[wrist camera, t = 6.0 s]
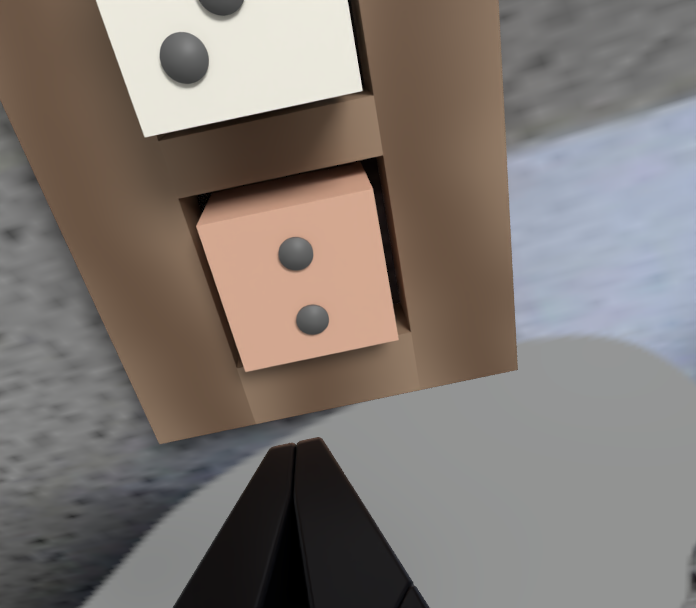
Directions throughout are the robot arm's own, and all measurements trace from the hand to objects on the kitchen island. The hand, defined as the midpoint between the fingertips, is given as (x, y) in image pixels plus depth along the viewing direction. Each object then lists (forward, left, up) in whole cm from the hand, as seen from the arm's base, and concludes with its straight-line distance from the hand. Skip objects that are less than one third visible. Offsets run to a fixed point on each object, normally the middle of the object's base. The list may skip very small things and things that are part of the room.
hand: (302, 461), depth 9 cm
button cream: (0, -7, -8) cm, 11 cm away
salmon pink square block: (0, 0, -10) cm, 9 cm away
